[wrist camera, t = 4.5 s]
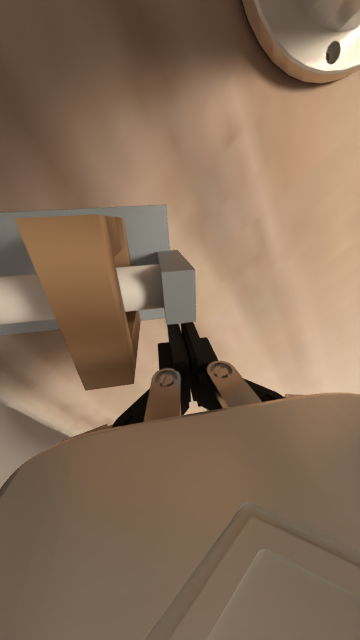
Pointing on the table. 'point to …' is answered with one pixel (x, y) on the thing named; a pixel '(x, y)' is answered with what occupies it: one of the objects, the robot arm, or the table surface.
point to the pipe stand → (135, 281)
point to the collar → (87, 292)
